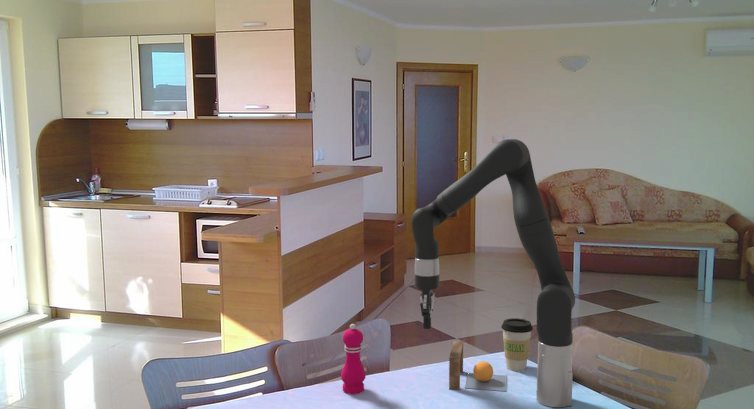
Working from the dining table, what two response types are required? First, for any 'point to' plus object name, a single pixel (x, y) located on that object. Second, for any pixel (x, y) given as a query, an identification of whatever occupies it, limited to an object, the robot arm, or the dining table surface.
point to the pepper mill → (353, 362)
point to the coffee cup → (516, 342)
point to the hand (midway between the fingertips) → (427, 328)
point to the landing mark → (486, 383)
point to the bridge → (455, 365)
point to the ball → (483, 371)
